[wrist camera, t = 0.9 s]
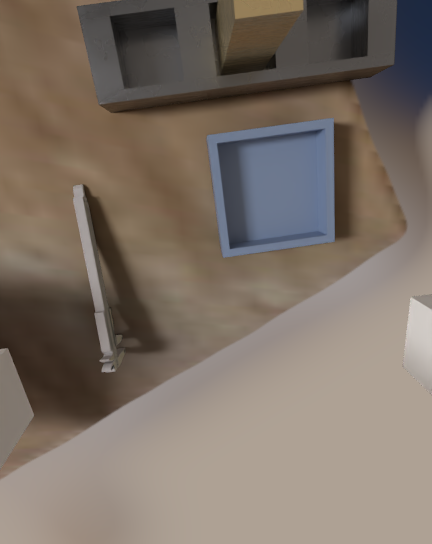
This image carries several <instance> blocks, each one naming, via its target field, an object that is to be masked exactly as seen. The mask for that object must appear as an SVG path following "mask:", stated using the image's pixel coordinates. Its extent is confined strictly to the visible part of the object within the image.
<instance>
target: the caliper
mask: <svg viewBox="0 0 432 544" xmlns="http://www.w3.org/2000/svg"><path fill="white" fill-rule="evenodd" d="M73 191H74V196H75V198H73V201H74V206H75V211H76V216H77V221H78V226H79V231H80V237H81V242H82V247H83V252H84V257H85V262H86V267H87V272H88V277H89V282H90V287H91V292H92V297H93V302H94V307H95V313H94V315H95V320H96V325H97V330H98V335H99V340H100V345H101V351H102V353H104V355H103V358H101V359H100V362H105V363H104V364H103V367H102V372H106V373H108V372H115V371H116V370H117V369H118V368H119V366H120V365H121V362H122V360H123V357H124V355H125V348H118V349H116V346H117V345H118V344H119V343H120V342H121V341H122V339H123V337H122V335H115V333H114V321H113V317H112V310H111V307H108V302H107V297H106V292H105V286H104V281H103V276H102V271H101V266H100V261H99V255H98V250H97V245H96V240H95V234H94V229H93V224H92V219H91V213H90V209H89V205H88V201H87V198H86V196H85V191H84V186H83V184H82V185H75V186H73Z"/></svg>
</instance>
